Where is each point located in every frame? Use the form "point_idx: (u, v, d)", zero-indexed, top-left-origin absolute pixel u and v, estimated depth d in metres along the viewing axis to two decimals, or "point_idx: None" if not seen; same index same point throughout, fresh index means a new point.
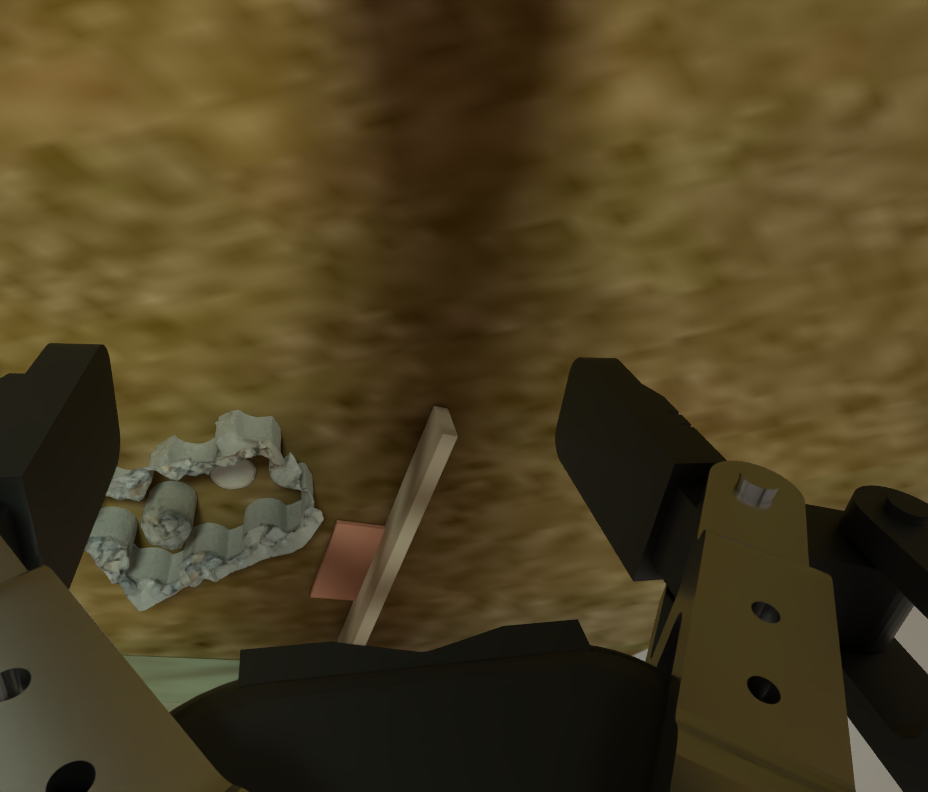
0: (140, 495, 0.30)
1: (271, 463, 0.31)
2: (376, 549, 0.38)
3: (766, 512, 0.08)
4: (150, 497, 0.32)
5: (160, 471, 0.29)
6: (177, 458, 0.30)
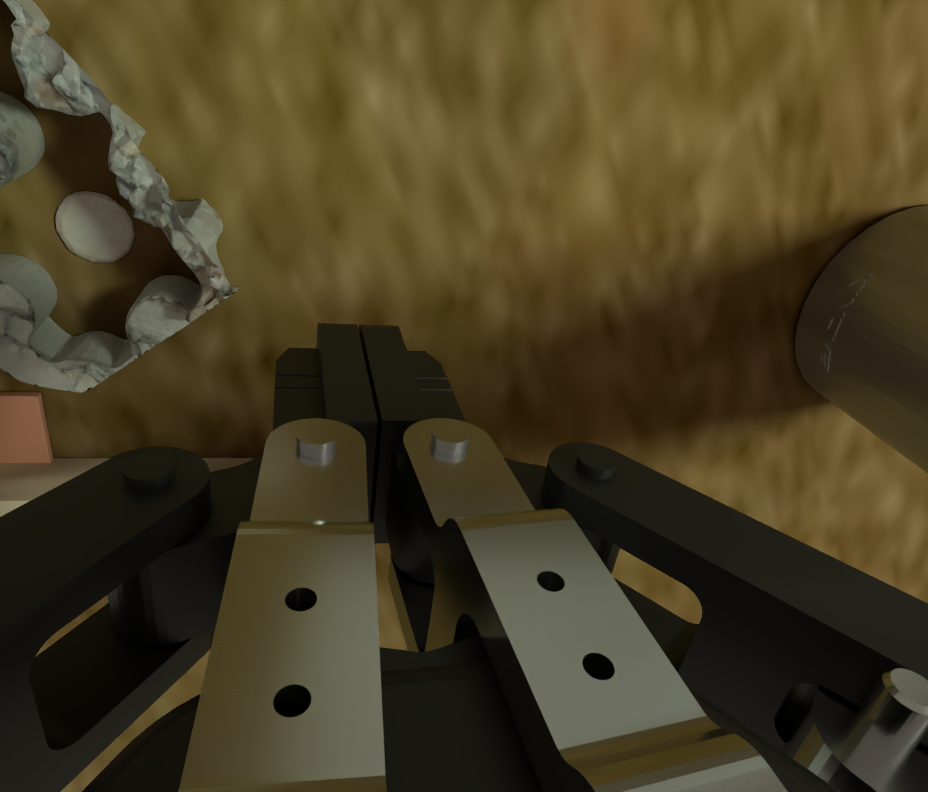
0: (41, 101, 0.17)
1: (169, 298, 0.20)
2: (0, 462, 0.23)
3: (440, 465, 0.08)
4: (4, 101, 0.18)
5: (118, 139, 0.17)
6: None
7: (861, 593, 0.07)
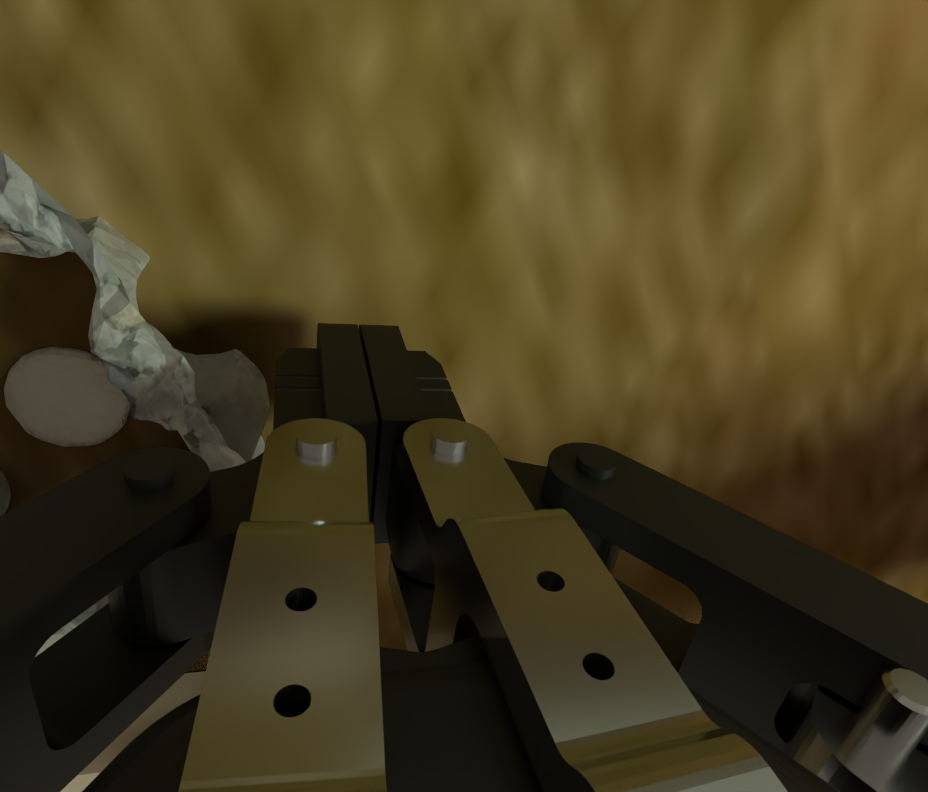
0: None
1: None
2: None
3: (440, 464, 0.08)
4: None
5: (107, 300, 0.10)
6: None
7: (861, 593, 0.07)
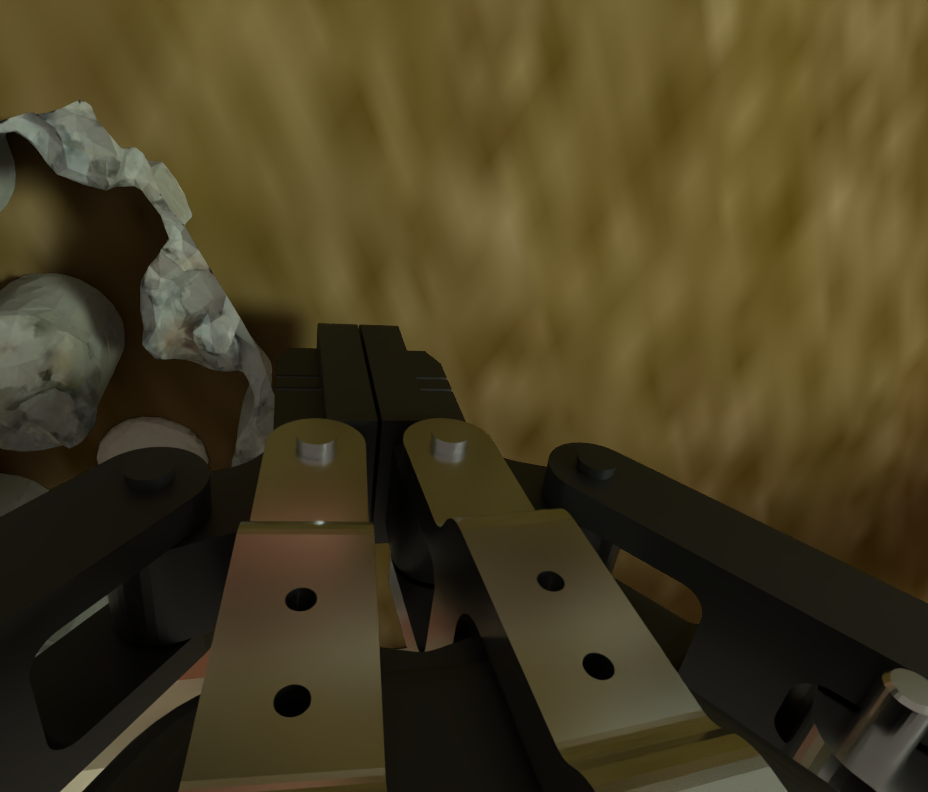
0: (165, 352, 0.11)
1: None
2: None
3: (440, 465, 0.08)
4: (91, 309, 0.12)
5: (262, 420, 0.11)
6: (250, 409, 0.13)
7: (862, 593, 0.07)
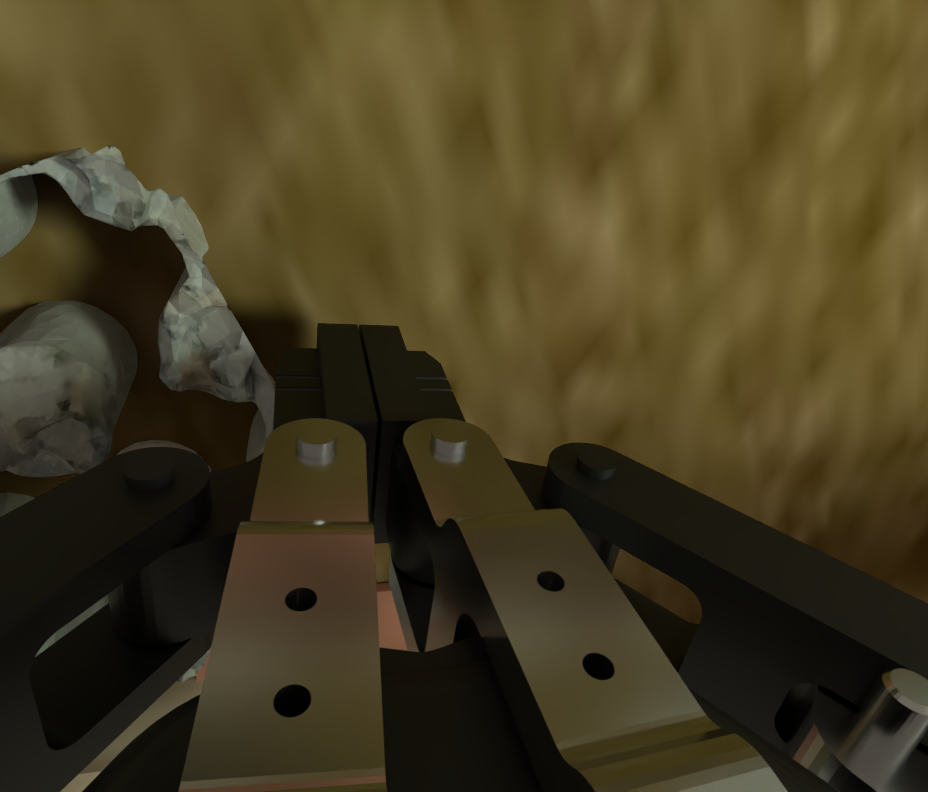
0: (181, 384, 0.11)
1: None
2: None
3: (440, 465, 0.08)
4: (107, 337, 0.12)
5: None
6: (260, 436, 0.13)
7: (861, 594, 0.07)
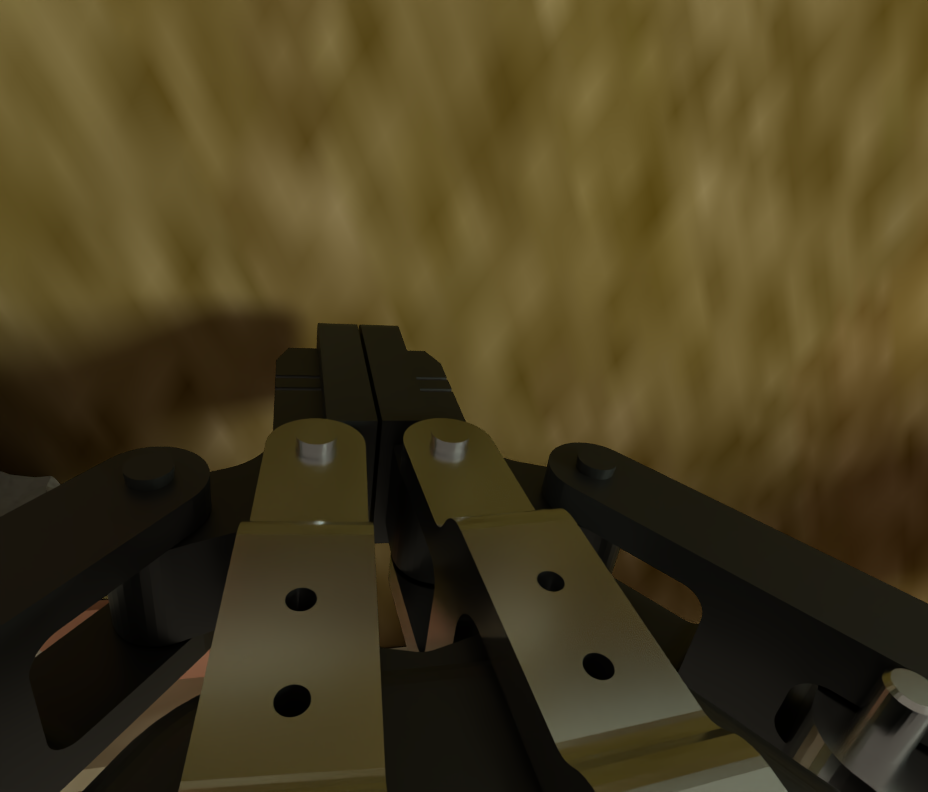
0: None
1: None
2: None
3: (440, 464, 0.08)
4: None
5: None
6: None
7: (860, 593, 0.07)
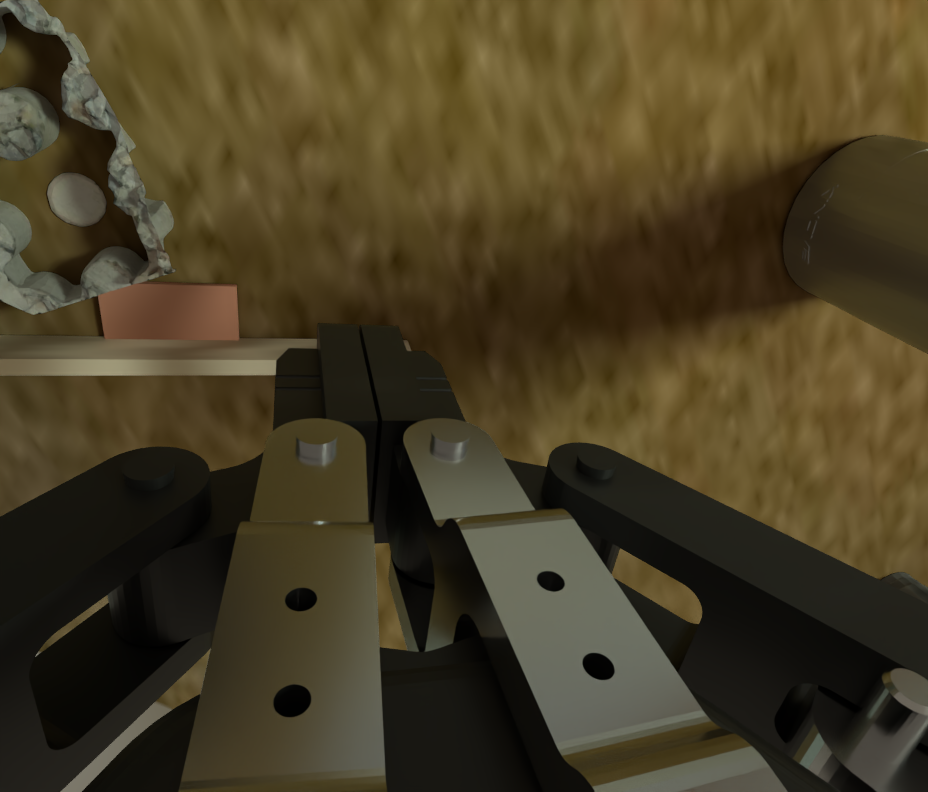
0: (72, 114, 0.24)
1: (120, 264, 0.28)
2: (204, 339, 0.32)
3: (440, 465, 0.08)
4: (41, 102, 0.25)
5: (119, 152, 0.25)
6: None
7: (860, 592, 0.07)
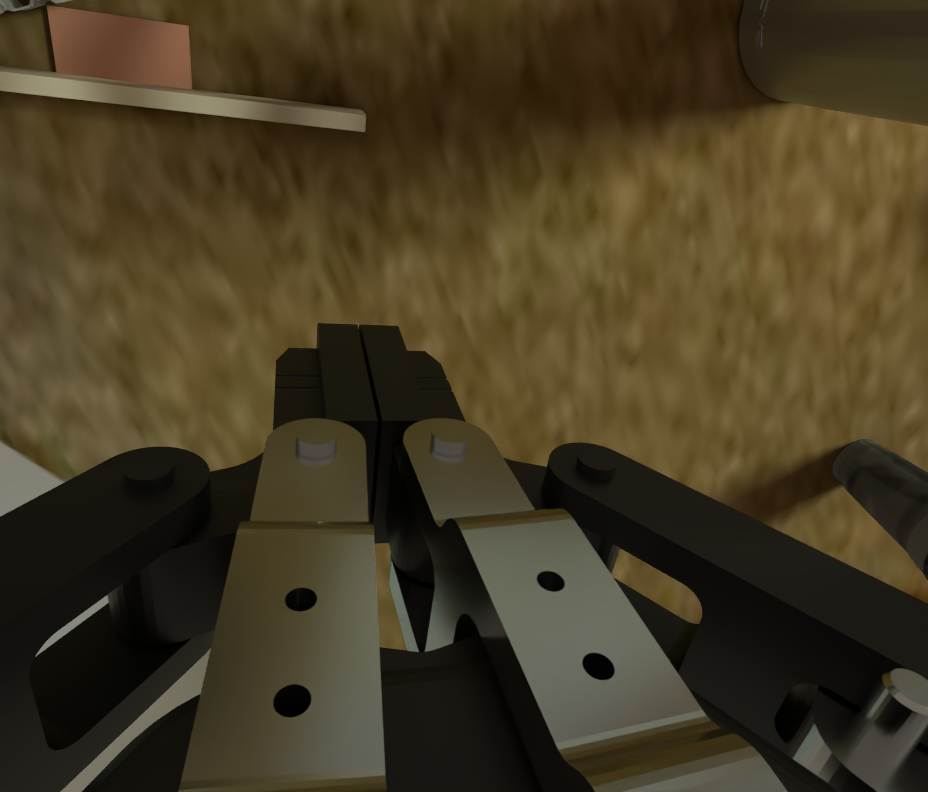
0: None
1: None
2: (156, 85, 0.32)
3: (440, 465, 0.08)
4: None
5: None
6: None
7: (861, 594, 0.07)
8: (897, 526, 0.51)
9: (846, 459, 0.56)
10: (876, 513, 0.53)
